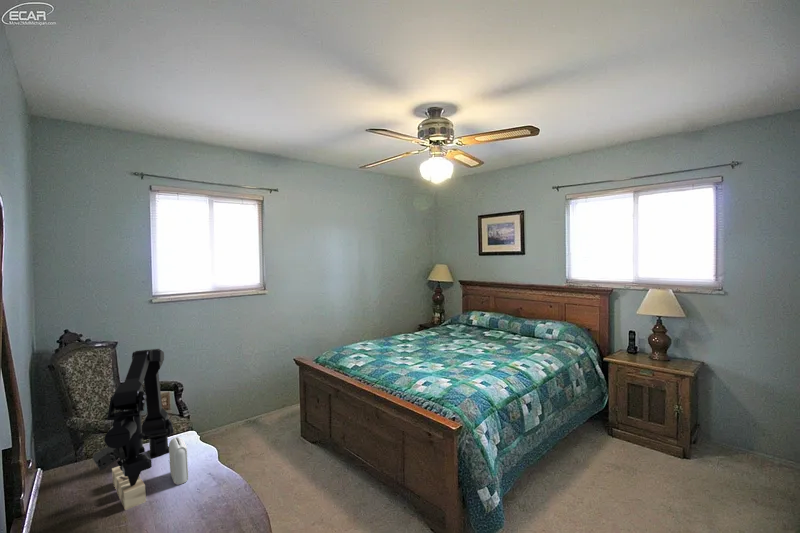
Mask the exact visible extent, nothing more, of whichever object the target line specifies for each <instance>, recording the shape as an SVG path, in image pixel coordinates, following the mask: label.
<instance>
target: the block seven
mask: <svg viewBox="0 0 800 533" xmlns="http://www.w3.org/2000/svg"><path fill="white" fill-rule="evenodd" d="M139 479H141V478H140V475H139V477H138V480H139ZM128 483H129V480H128V477H127V476H124V474H123V475H121V476H118V477H116V484H117V490H116V493H117V494H116V495H117V496H118V498H119V500H120V501H121V486H123V485H126V484H128Z"/></svg>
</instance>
